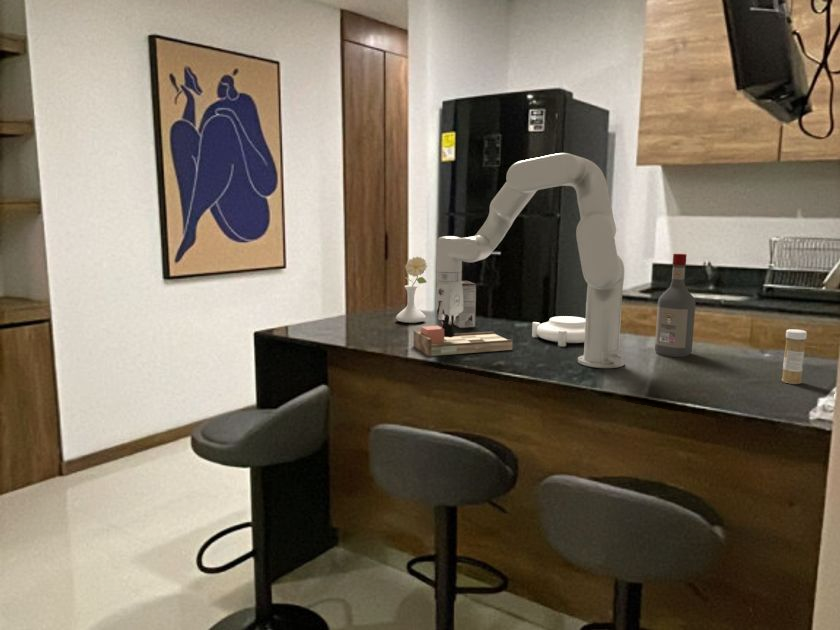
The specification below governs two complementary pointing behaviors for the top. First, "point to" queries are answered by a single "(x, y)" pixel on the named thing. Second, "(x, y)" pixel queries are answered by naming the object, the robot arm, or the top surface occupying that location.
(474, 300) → the coffee box
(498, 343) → the board
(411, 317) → the flower in vase
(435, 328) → the block
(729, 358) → the top surface
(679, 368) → the top surface
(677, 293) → the liquor
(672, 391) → the top surface
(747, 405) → the top surface
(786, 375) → the sprinkles bottle
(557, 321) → the round stand with pegs
